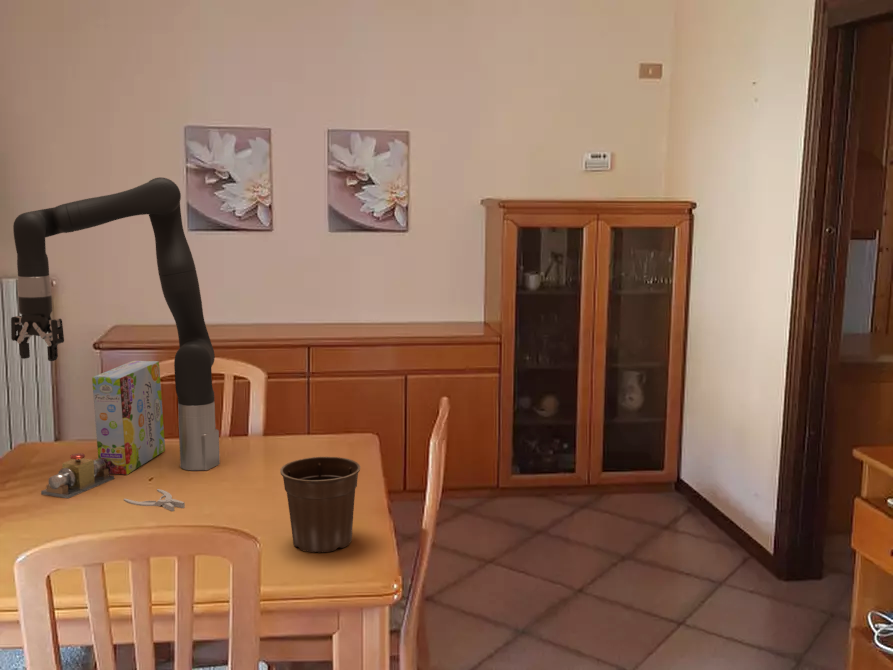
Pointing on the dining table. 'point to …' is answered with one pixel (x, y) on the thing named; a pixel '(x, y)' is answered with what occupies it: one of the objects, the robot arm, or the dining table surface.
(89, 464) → the push button
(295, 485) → the plant pot
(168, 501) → the pliers
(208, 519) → the dining table surface
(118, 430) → the snack box
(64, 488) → the flanged cylinder mounting plate
